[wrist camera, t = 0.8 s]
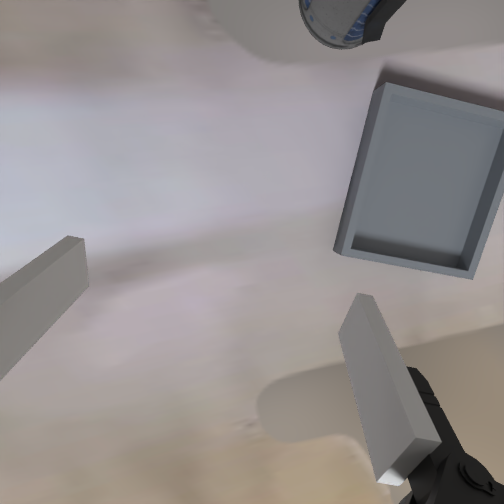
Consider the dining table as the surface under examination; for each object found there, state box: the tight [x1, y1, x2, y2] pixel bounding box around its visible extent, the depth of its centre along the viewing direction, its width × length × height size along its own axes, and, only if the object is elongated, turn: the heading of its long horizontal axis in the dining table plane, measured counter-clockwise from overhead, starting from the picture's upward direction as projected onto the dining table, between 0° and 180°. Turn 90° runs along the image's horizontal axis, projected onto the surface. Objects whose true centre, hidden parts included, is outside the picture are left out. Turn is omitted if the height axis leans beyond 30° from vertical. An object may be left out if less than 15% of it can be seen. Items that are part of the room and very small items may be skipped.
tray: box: [333, 82, 504, 280], centre depth 36 cm, size 20×18×3 cm
